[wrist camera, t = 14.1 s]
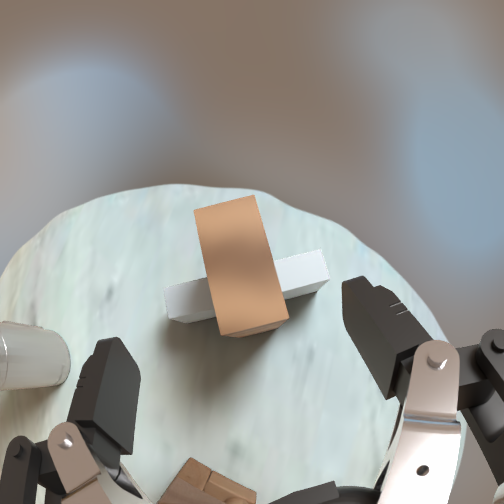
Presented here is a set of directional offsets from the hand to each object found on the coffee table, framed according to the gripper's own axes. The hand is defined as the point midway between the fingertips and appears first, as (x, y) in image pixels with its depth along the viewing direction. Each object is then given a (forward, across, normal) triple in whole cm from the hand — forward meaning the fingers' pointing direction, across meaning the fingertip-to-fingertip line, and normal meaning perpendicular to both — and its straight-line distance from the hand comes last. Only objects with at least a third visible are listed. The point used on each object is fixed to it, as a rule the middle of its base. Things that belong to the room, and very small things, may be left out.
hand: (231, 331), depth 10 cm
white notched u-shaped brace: (+25, 0, +16) cm, 30 cm away
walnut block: (+24, -1, +17) cm, 30 cm away
